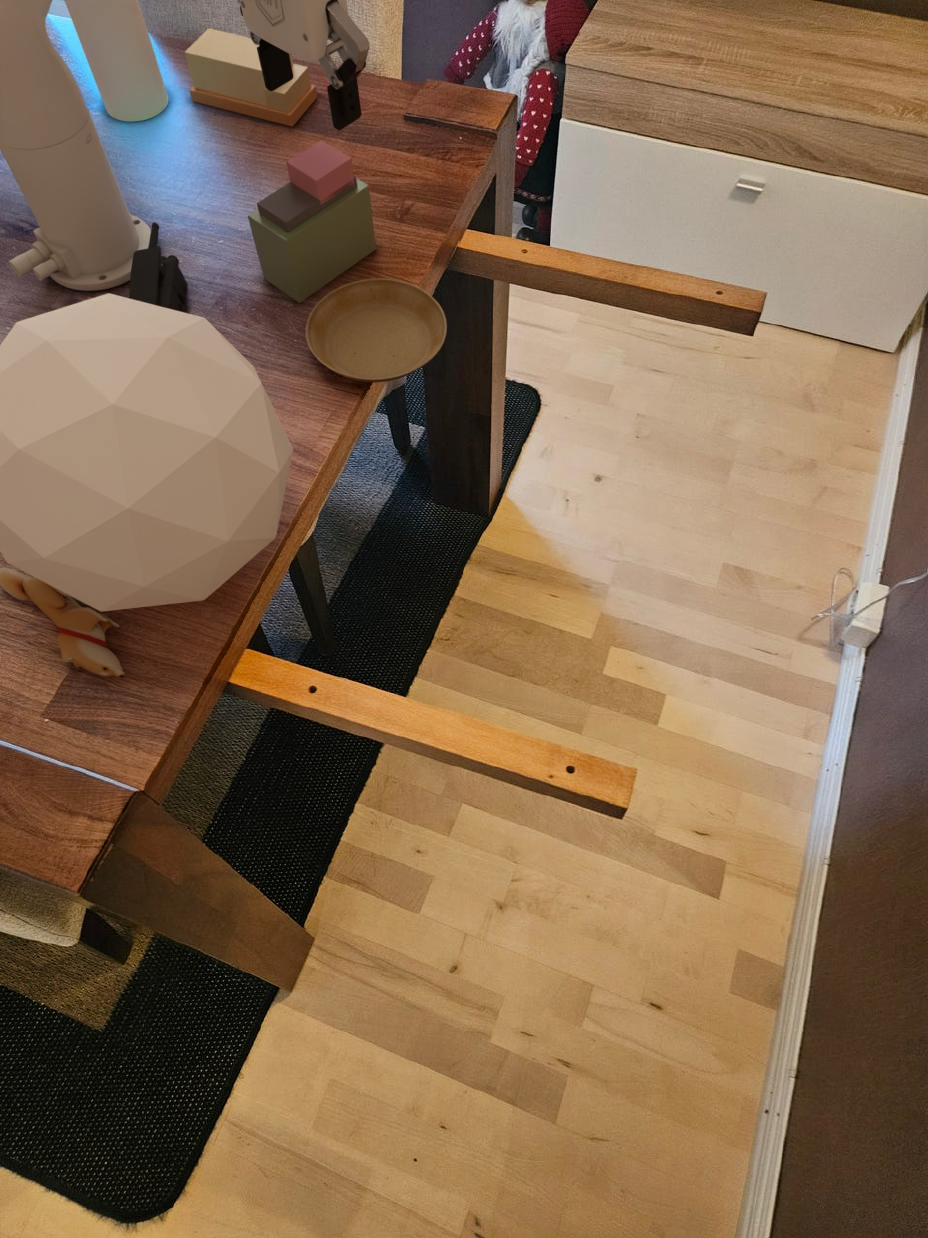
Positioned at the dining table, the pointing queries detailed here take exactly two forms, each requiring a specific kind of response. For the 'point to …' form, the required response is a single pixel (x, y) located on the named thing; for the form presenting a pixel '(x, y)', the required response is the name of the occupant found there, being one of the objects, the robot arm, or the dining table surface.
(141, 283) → the walkie-talkie
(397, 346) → the plant saucer
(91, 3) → the cup
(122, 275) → the robot arm
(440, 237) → the dining table surface
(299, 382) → the dining table surface
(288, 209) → the grey and pink l-bracket
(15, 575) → the toy
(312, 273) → the rectangular block
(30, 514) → the geometric shape
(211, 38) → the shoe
